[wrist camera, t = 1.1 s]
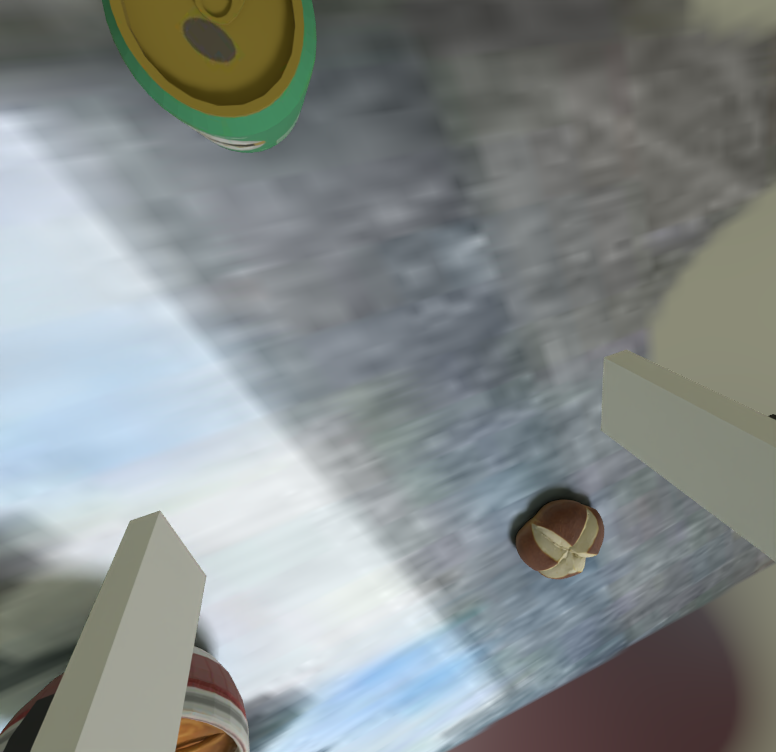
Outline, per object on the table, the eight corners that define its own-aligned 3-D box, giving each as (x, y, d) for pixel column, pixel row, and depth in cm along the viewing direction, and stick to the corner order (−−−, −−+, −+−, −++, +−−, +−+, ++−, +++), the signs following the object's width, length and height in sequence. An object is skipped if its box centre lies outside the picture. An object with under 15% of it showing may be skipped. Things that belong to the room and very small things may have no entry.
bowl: (5, 616, 38) (-77, 746, 29) (258, 591, 44) (253, 691, 36) (44, 747, 47) (-10, 877, 38) (250, 710, 53) (245, 814, 44)
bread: (544, 568, 56) (567, 600, 52) (499, 538, 51) (520, 571, 47) (604, 516, 55) (632, 545, 50) (563, 480, 49) (591, 508, 45)
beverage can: (156, 118, 25) (69, 68, 15) (185, -33, 23) (104, -222, 12) (282, 174, 28) (284, 167, 18) (319, 47, 26) (347, -51, 15)
